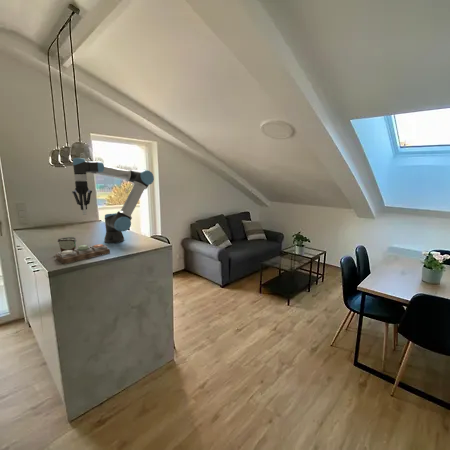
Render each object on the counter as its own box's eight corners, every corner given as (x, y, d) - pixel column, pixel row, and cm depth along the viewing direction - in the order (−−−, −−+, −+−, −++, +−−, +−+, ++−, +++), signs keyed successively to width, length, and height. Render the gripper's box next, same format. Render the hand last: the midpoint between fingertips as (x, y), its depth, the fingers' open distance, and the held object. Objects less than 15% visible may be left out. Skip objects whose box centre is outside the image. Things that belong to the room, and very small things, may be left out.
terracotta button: (100, 247, 190) (100, 243, 189) (104, 248, 186) (104, 245, 185) (92, 248, 185) (92, 245, 185) (96, 250, 181) (95, 246, 181)
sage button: (86, 247, 182) (85, 244, 181) (89, 249, 178) (89, 245, 178) (76, 249, 177) (76, 246, 177) (80, 251, 174) (80, 247, 173)
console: (100, 249, 194) (100, 243, 193) (109, 253, 185) (109, 246, 184) (56, 259, 172) (55, 252, 171) (64, 263, 163) (63, 256, 162)
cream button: (70, 253, 175) (70, 249, 174) (74, 254, 171) (73, 251, 170) (60, 255, 170) (60, 251, 170) (63, 257, 166) (63, 253, 166)
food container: (81, 250, 193) (79, 236, 191) (76, 252, 186) (75, 238, 185) (63, 250, 192) (62, 237, 190) (58, 252, 186) (57, 239, 184)
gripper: (73, 181, 176) (76, 215, 181) (93, 180, 186) (96, 213, 190) (68, 180, 181) (72, 214, 186) (88, 180, 191) (91, 212, 195)
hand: (84, 214), depth 188 cm, fingers closed
